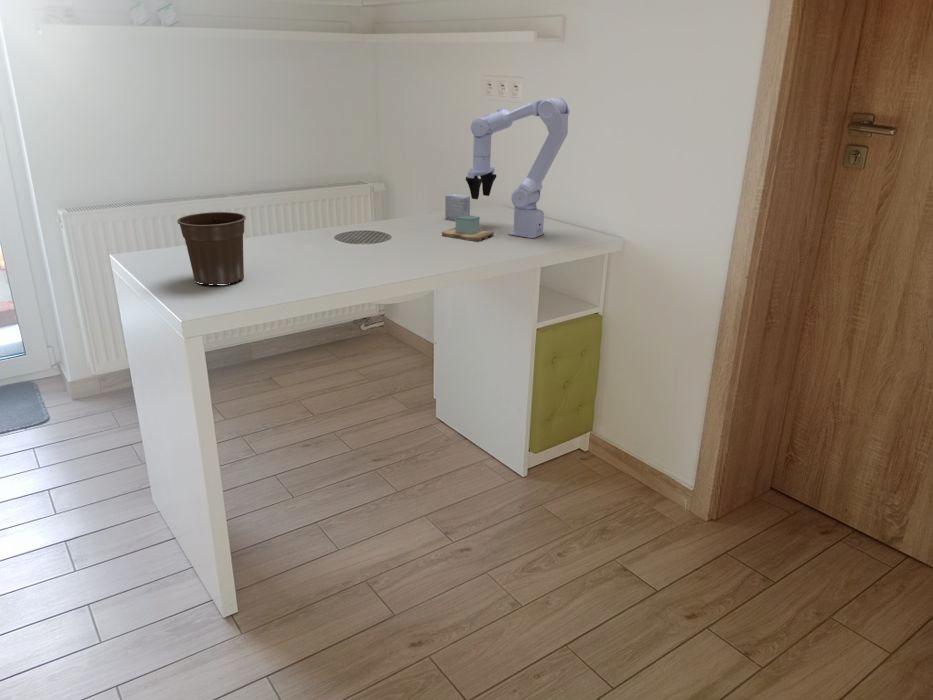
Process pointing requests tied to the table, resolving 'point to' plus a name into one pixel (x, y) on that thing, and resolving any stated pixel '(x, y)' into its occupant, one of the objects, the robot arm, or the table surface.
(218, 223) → the plant pot
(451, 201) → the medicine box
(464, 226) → the pale teal rectangular block
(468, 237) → the thin wooden board
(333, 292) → the table surface
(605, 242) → the table surface
